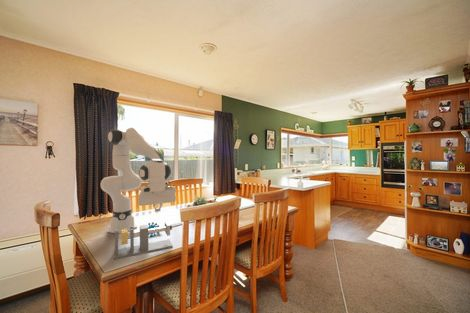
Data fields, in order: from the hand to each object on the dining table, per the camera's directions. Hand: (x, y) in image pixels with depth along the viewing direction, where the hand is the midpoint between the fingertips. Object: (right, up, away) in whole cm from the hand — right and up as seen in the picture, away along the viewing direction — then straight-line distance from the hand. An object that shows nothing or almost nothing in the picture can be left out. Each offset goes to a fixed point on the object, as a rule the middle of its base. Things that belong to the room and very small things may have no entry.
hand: (157, 211), depth 121 cm
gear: (-11, -22, +21) cm, 32 cm away
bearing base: (-8, -22, 0) cm, 23 cm away
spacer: (-17, -16, -5) cm, 23 cm away
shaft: (-6, -15, 0) cm, 16 cm away
